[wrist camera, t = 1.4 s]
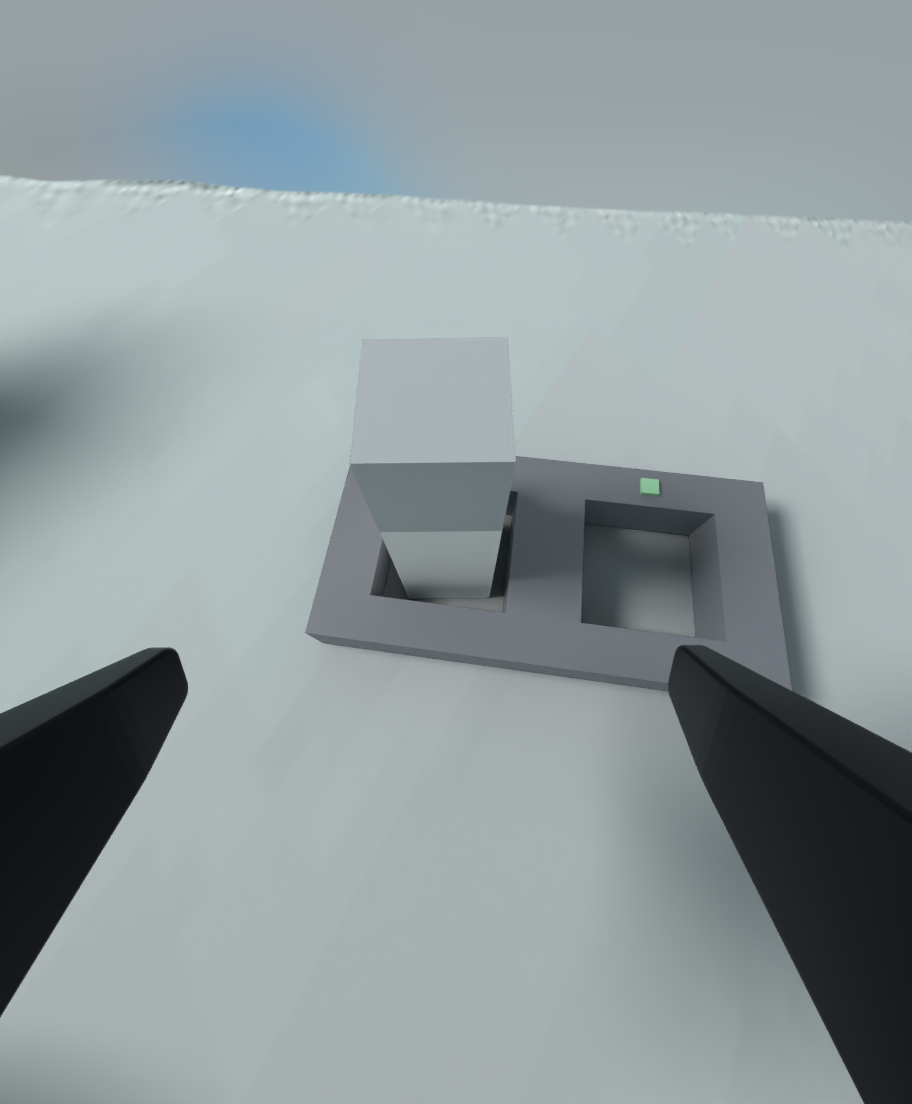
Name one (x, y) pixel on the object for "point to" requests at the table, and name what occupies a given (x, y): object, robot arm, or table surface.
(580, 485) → the socket plate
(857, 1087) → the robot arm
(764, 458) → the table surface
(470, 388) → the plug
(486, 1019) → the table surface
